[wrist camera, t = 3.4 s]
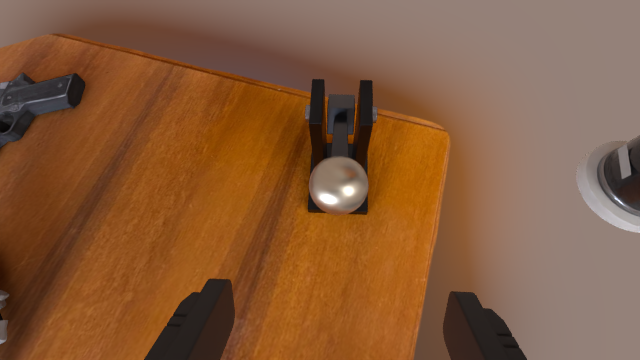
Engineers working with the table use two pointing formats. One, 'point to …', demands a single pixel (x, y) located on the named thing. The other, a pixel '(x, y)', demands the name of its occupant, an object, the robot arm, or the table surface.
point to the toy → (1, 324)
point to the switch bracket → (361, 135)
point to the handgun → (34, 101)
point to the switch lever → (339, 164)
